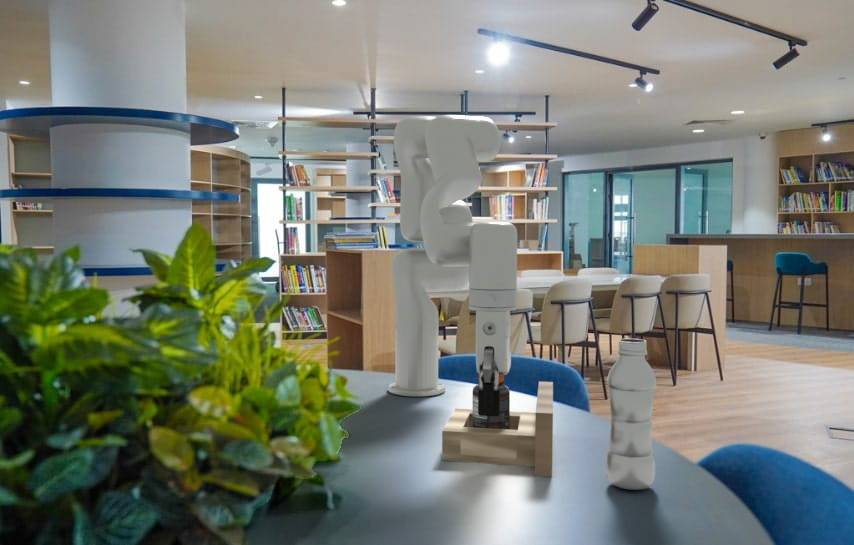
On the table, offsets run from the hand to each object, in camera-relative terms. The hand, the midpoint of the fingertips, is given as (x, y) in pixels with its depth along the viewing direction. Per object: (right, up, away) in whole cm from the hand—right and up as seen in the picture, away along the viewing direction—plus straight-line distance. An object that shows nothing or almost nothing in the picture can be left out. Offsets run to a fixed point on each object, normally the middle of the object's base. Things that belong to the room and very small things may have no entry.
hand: (491, 408), depth 108 cm
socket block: (0, -7, 0) cm, 7 cm away
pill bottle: (0, -6, +1) cm, 6 cm away
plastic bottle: (+17, -8, -16) cm, 25 cm away
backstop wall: (+8, -7, -1) cm, 11 cm away
